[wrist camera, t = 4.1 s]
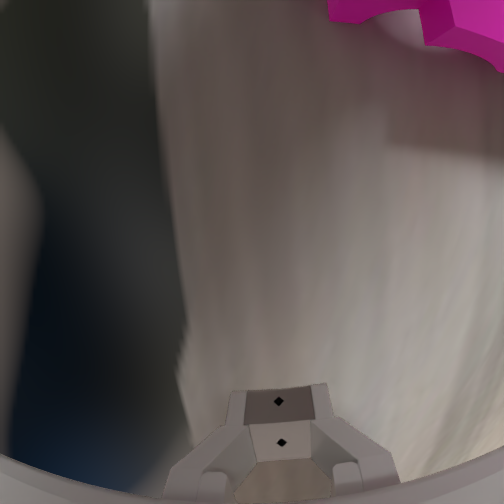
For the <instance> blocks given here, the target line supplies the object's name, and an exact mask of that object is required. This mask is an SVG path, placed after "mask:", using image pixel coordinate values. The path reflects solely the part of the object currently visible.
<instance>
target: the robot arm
mask: <svg viewBox="0 0 504 504" xmlns="http://www.w3.org/2000/svg"><path fill="white" fill-rule="evenodd" d="M304 458H311V459H312V460H313V461H314V462H315V463H316V465H317V466H318V467H319V468H320V469H321V470H322V471H323V472H324V473H325V474H326V475H327V476H328V477H329V478H330V479H331V480H332V482H331V494H330V498H323V499H315V500H305V501H294V502H280V503H255V504H504V446H502V447H500V448H497V449H495V450H493V451H491V452H489V453H486V454H484V455H482V456H479V457H477V458H475V459H472V460H470V461H467V462H465V463H462V464H459V465H457V466H454V467H451V468H448V469H446V470H443V471H440V472H437V473H434V474H431V475H428V476H424V477H421V478H418V479H414V480H411V481H407V482H403V483H401V482H400V479H399V476H398V473H397V470H396V467H395V464H394V461H393V458H392V455H391V452H389V451H388V450H386V449H385V448H383V447H382V446H380V445H379V444H377V443H376V442H374V441H373V440H371V439H370V438H369V437H367V436H366V435H364V434H363V433H361V432H360V431H359V430H357V429H356V428H354V427H353V426H351V425H350V424H349V423H347V422H346V421H345V420H343V419H342V418H340V417H339V416H338V417H334V414H333V409H332V404H331V400H330V395H329V391H328V386H327V384H326V383H320V384H313V385H308V386H300V387H291V388H281V389H266V390H248V391H232V392H231V394H230V399H229V405H228V410H227V416H226V422H225V426H220V427H219V428H218V429H216V430H215V431H214V432H213V433H212V434H211V435H210V436H208V437H207V438H206V439H205V440H204V441H203V442H201V443H200V444H199V445H198V446H197V447H196V448H194V449H193V450H192V451H191V452H190V453H188V454H187V455H186V456H185V457H184V458H182V459H181V460H180V461H179V462H177V463H176V464H175V465H174V466H173V467H171V468H170V472H169V475H168V478H167V481H166V485H165V488H164V491H163V494H162V498H154V497H147V496H141V495H135V494H130V493H124V492H118V491H115V490H110V489H105V488H101V487H97V486H93V485H89V484H85V483H81V482H78V481H74V480H70V479H67V478H64V477H61V476H57V475H54V474H51V473H48V472H45V471H42V470H39V469H37V468H34V467H31V466H28V465H26V464H23V463H21V462H18V461H16V460H13V459H11V458H9V457H6V456H4V455H1V454H0V504H237V501H236V499H235V496H234V492H235V490H236V489H237V488H238V487H239V486H240V484H241V483H242V482H243V481H244V479H245V478H246V477H247V476H248V474H249V473H250V472H251V470H252V469H253V468H254V467H255V465H256V464H257V462H265V461H277V460H290V459H304Z"/></svg>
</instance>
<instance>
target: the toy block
mask: <svg viewBox="0 0 504 504" xmlns="http://www.w3.org/2000/svg"><path fill="white" fill-rule="evenodd" d="M327 4H328V12H329V21H333V22H345V23H354V24H361V23H362V22H363V21H365V20H367V19H369V18H371V17H373V16H376V15H379V14H382V13H386V12H391V11H396V10H406V9H419V14H420V19H421V24H422V30H423V36H424V42H425V46H439V47H447V48H452V49H457V50H461V51H465V52H468V53H471V54H474V55H477V56H479V57H481V58H483V59H485V60H487V61H488V62H490V63H491V64H492V65H493V66H494V67H495V69H496V71H498V72H501V73H504V0H327Z"/></svg>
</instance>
